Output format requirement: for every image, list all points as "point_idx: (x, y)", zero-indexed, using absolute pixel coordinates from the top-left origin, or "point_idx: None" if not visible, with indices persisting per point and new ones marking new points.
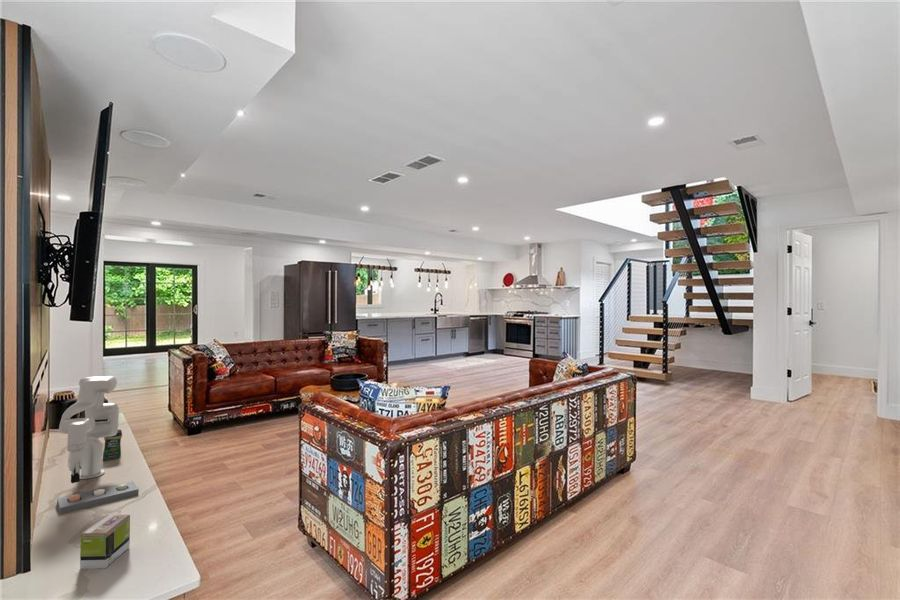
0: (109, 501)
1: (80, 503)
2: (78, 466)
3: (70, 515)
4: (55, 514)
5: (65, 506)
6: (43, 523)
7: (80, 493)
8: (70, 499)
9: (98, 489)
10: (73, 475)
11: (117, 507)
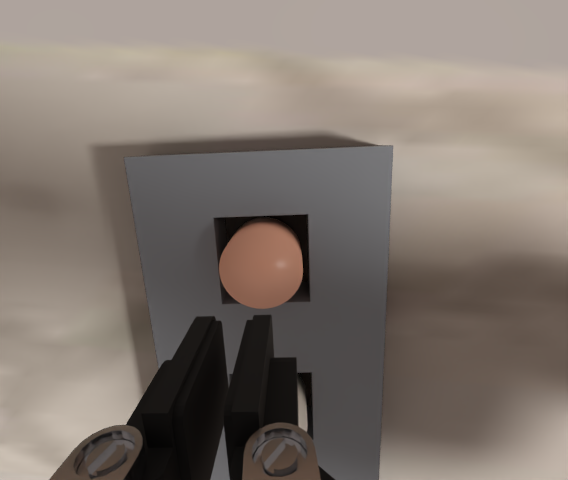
0: None
1: (147, 289)
2: None
3: (78, 213)
4: (159, 127)
5: (135, 194)
6: (20, 45)
7: (374, 308)
8: (232, 237)
9: (306, 425)
10: (99, 447)
11: (61, 436)
